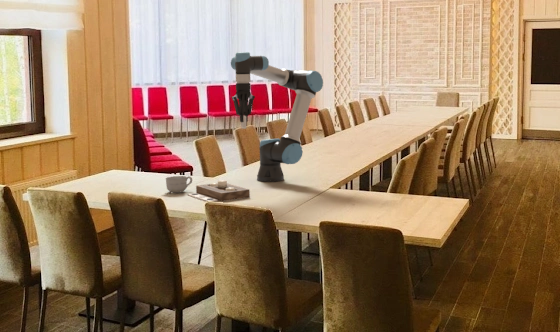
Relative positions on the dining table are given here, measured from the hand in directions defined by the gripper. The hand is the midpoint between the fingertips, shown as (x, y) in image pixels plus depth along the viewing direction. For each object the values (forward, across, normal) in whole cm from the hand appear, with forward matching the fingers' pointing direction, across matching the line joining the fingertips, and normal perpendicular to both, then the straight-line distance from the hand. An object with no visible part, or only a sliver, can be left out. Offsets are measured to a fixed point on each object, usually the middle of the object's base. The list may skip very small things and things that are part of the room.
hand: (243, 128), depth 378 cm
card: (+32, +28, +6) cm, 44 cm away
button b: (+28, +17, +6) cm, 33 cm away
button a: (+31, +17, -2) cm, 35 cm away
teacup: (+33, +30, -16) cm, 47 cm away
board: (+32, +17, +6) cm, 37 cm away
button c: (+31, +17, +14) cm, 38 cm away
